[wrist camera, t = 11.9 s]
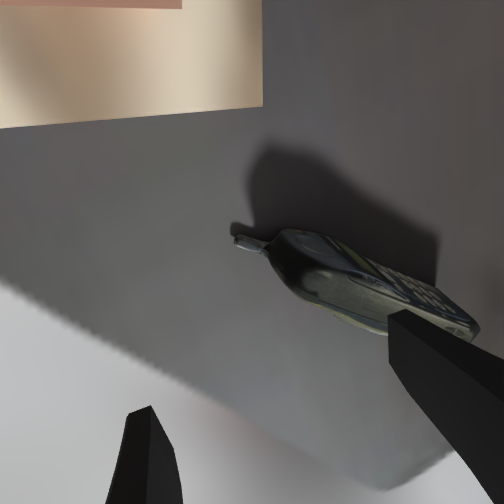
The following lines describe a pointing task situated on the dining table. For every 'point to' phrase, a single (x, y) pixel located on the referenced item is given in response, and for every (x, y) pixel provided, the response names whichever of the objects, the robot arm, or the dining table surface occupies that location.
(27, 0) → the terracotta cube
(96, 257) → the dining table surface
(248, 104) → the birch block
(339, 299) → the mobile phone
